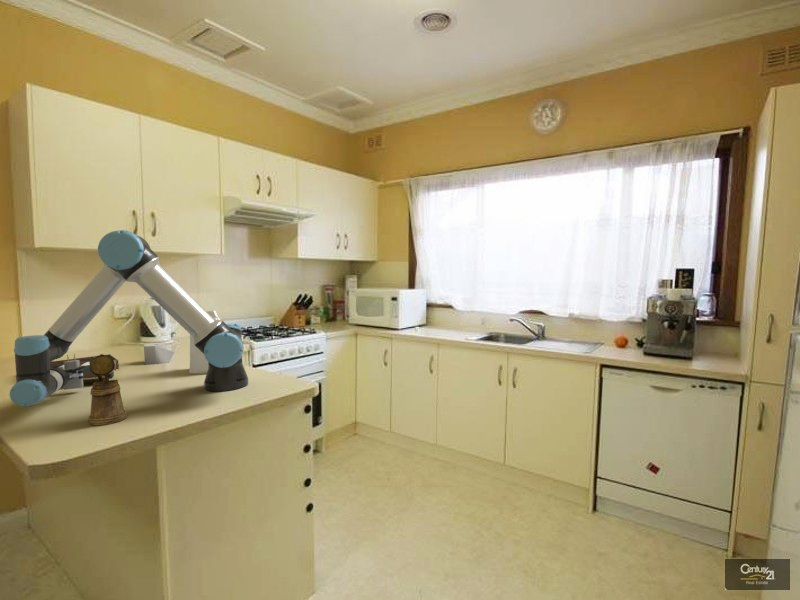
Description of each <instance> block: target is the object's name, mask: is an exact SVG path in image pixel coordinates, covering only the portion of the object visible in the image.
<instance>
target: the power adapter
mask: <svg viewBox="0 0 800 600" xmlns="http://www.w3.org/2000/svg"><path fill="white" fill-rule="evenodd" d="M66 358H67V359H66V360H68V361H66V362H64V368H63V369H62V370H67V369H75V368H78V367H80V362H79V360H75V359H76V354H75V353H74V354H73V359H74V360H73V361H69V354H67V356H66ZM79 388H84V379H83V378H82V379H79V378H77V377H73V379H71V380H68V382H67V384H66V385H65V386H64V387H63V390H65V391H67V390H72V389H79Z"/></svg>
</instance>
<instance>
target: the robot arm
mask: <svg viewBox="0 0 800 600" xmlns="http://www.w3.org/2000/svg"><path fill="white" fill-rule="evenodd" d="M97 253H98V257H99V259H100V260H101V262H102V268H101V269H100V270H99V271H98V273H96V275H95V276H94V277H93V278H92V279H91V281H90V282H89V283H88V284H87V285H86V286H85V287H84V289H83V290H82V291H81V292H79V294H78V295H77V297H76V298H75V299H74V300H73V301H72V302H71V303H70V304H69V306H67V308H65V310H64V311H63V313H61V315H60V316H59V317H58V318H57V319H56V321H55V322H54V323H53V324H52V325H51V326H50V327H49V328H48V330H47V331H46V332H45V333H44V334H39V335H37V334H36V335H34V334H33V335H25V336H19V337H16V339H15V340H14V348H13V353H14V362H15V382H16V383H14V384H13V385H12V387H11V389H10V390H9V398H10V401H12V402H13V403H14V404H15V405H18V406H21V407H28V406H29V407H30V406H32V405H35V404H38V403H41V402H43V401H44V400H45V399H48V398H49V396H52V395H53V394H54V393H56V392H58V391H60V390H62V389H64V386H65V385H66V384H67V382H68V380H71V379H73V377H77V378H79V379H82V378H83V377H84V376H86V375H88V374H90V373H91V371H90V364H89V362H86V363H84V364H82V365H80V367H78V368H75V369H67V370H62V369H63V368H64V365H63V366H60V367H57V366H54V367H53V368H50V362H52V361H56V360H57V359H58V360H59V359H60V358H62V357H64V356H65V355H66V354H67V353H68V351H69V349H70V346H71V345H72V343H73V342H74V341H75V340H76V339H77V338H78V337H79V335H81V333H82V332H83V331H84V330H85V328H87V326H88V325H89V324H90V323H91V322H92V321H93V320H94V318H95V317H96V316H97V315H98V314H99V313H100V312H101V310H102V309H103V308H104V306H106V305H107V303H108V302H109V301H110V300H111V298H112V297H113V296H115V294H116V293H117V292H118V291H119V289H120V288H121V287H122V286H123V284H124V283H125V282H130V283H136V284H137V285H138V286H139V287H140V288H141V289H142V290H144V291H145V293H147V294H148V296H150V298H152V299H153V301H155V302H156V303H157V304H158V305H159V307H161V308H162V309H163V310H164V311H165V312H166V313H167V314H168V315H169V316H171V317H172V319H173V320H175V322H177V323H178V325H180V326H181V327H182V328H183V329H184V330H185V332H187V333H188V334H189V336H190V335H192V336H193V338H194V341H193V344H194V345H195V346H196V347H197V348H198V349H199V350H200V351H201V352H202V353H203V354H204V355H205V358H206V359H207V361H208V365H209V367H208V371H207V373H205V374H206V375H205V378H204V382H203V388H204V390H206V391H208V392H210V391H211V392H226V391H227V392H228V391H232V390H238V389H242V388H244V387H246V386H248V385H249V377H248V374H247V371H246V369H245V366H244V363H243V354H244V349H245V348H244V343H243V341H242V327H241V324H239V323H226V322H224V321H223V319H220V320H215V319H214V318H213V317H212V316H211V315H210V314H209V313H208V312H207V311H208V310H205V308H204V307H202V305H201V304H199V303H198V302H197V301H196V299H195V298H194V297H192V295H190V294H189V293H188V291H187V290H185V288H183V287H182V285H180V284H179V283H178V281H177V280H176V279H174V277H173V276H171V274H169V273H168V272H167V270H165V269H164V267H162V266H161V265H160V257H159V255H157V254H156V253H155V252H154V250H153V249H152V248H151V246H150V244H149V243H148V242H147V240H145V239H144V238H143V237H142V236H139V235H138V234H136V233H134V232H131V231H129V230H124V229H121V230H120V229H119V230H114V231H113V230H112V231H110V232H108V233H106V234H105V235H103V237H102V238H100V240H99V242H98V246H97Z"/></svg>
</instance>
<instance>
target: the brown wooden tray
mask: <svg viewBox="0 0 800 600" xmlns="http://www.w3.org/2000/svg"><path fill="white" fill-rule="evenodd" d="M105 355H106V356H109V357H110V358H112V359H113V360H116V369H119V370H120V367H119V366H120V365H119V359H117V358H115V357H114V356H113V355H111V354H110V353H109V354H105ZM97 356H98V355H93V356H85V357H77V358H76V357H75V360H79V362H91V361H92V360H93V359H94V358H95V357H97ZM73 360H74V358H70V359H69V361H73ZM66 361H68V359H61V360H53V361H51V362H50V368H53V367H54V366H57V367H60V366H63V365H64V362H66Z"/></svg>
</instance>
